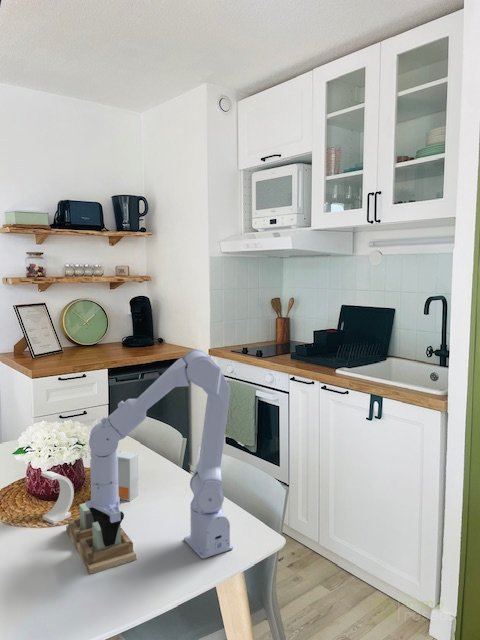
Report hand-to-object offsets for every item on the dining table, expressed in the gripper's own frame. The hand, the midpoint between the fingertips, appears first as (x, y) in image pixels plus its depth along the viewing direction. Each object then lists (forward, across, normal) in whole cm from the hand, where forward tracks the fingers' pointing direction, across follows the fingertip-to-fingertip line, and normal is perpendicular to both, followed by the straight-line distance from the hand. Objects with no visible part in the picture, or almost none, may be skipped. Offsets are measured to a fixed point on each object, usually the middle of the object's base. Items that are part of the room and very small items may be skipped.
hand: (106, 539), depth 111 cm
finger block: (+2, 0, 0) cm, 2 cm away
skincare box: (+4, -25, +13) cm, 28 cm away
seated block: (+2, -10, 0) cm, 10 cm away
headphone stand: (+4, -23, -5) cm, 24 cm away
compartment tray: (+4, -5, 0) cm, 6 cm away
